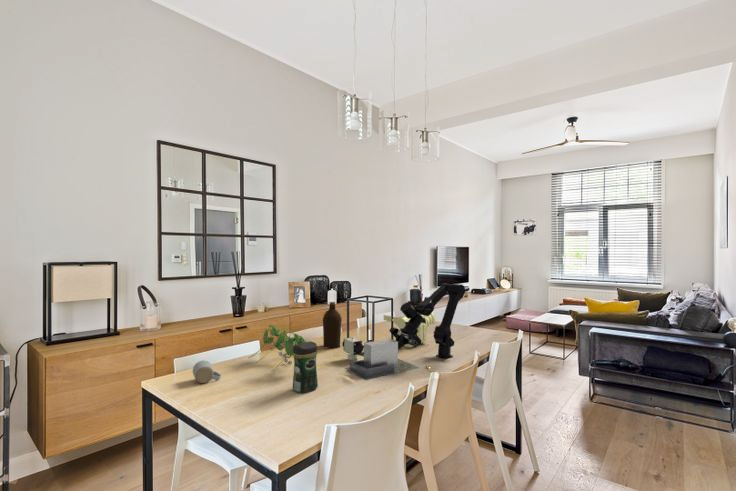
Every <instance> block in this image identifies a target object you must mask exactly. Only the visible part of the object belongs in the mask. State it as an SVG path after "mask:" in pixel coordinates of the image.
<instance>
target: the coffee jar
mask: <svg viewBox="0 0 736 491" xmlns="http://www.w3.org/2000/svg"><path fill="white" fill-rule="evenodd" d="M317 355H318V345H317V343H316V342H314V341H311V340H310V341H308V342H304V343H300V344H294V346H293V355H292V356H293V359H294V360H293V362H294V366H293V377H292V390H293V391H294V392H295V393H302V394H304V393H308V392H311V391H314V390H316V389H317V388H318V373H317Z"/></svg>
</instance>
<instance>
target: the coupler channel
mask: <svg viewBox="0 0 736 491" xmlns="http://www.w3.org/2000/svg"><path fill="white" fill-rule="evenodd" d="M344 369H345V370H347V371H349V372H351V373H353V374H354V375H356V376H358V377H359V378H361V379H363V381H364V380H365V381H369V380H374V379H377V378H381V377H386V376H390V375H395V374H399V373H403V372H407V371H413V370H417V369H420V367H419V366H416V365H414V364H411V363H409V362H408V361H405V360H403V359H400V358H398V367H397V368H394V364H388V365H384V366H379V367H374V368H369V369H365V368H364V359H362V360H361V359H360V360H357V361H356V360H354V361H350V362H349V366H348V367H345V368H344Z"/></svg>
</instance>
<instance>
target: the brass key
mask: <svg viewBox="0 0 736 491" xmlns="http://www.w3.org/2000/svg"><path fill="white" fill-rule="evenodd" d="M424 368H425V369H427V370H428V371H430V373H434V372H433V371H435V370H434V369H433V368H432V366H430V365H428V366H427V365H425V367H424Z"/></svg>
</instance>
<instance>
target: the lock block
mask: <svg viewBox="0 0 736 491" xmlns="http://www.w3.org/2000/svg"><path fill="white" fill-rule="evenodd" d="M398 356H399V349H398V341H395V340H394V339H392V338H387V339H381V340H375V341H368V342H363V360H364V368H365V369H369V368H374V367H379V366H384V365H388V364H394V368H397V367H398V359H399V357H398Z"/></svg>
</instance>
